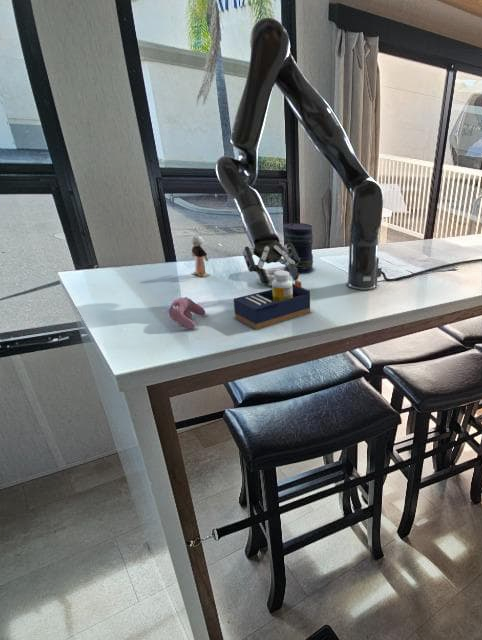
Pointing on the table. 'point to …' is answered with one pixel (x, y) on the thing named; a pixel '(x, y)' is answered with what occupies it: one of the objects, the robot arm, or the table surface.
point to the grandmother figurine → (199, 256)
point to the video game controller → (185, 312)
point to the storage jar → (300, 244)
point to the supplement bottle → (282, 286)
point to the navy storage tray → (271, 307)
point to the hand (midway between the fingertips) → (282, 281)
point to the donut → (270, 276)
